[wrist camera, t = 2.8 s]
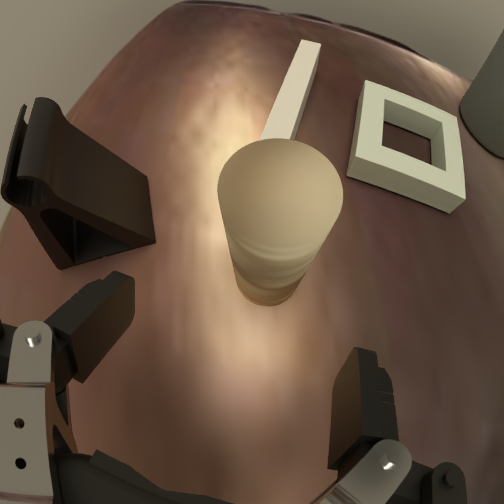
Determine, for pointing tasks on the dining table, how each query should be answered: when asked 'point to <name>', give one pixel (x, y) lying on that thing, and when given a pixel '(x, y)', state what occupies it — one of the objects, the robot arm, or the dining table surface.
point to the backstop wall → (293, 93)
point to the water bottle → (487, 102)
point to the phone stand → (74, 190)
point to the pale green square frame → (398, 164)
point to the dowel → (276, 214)
